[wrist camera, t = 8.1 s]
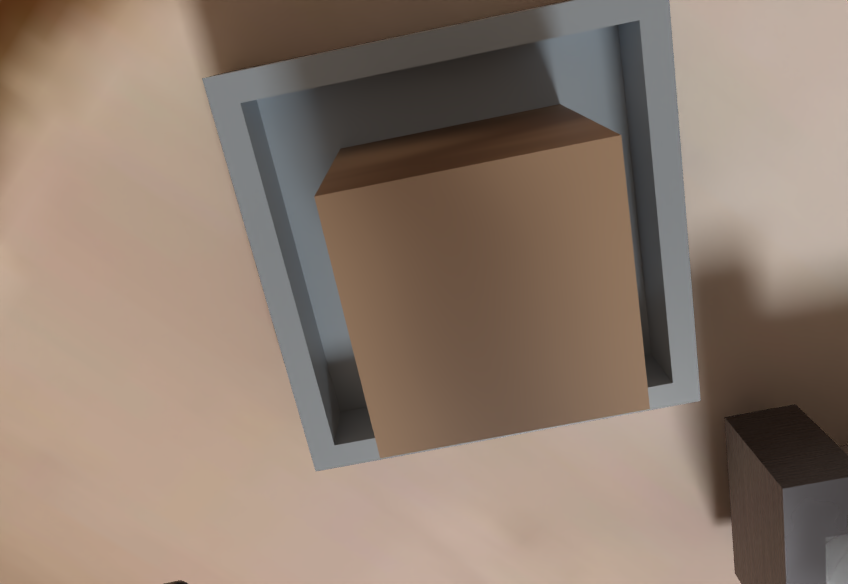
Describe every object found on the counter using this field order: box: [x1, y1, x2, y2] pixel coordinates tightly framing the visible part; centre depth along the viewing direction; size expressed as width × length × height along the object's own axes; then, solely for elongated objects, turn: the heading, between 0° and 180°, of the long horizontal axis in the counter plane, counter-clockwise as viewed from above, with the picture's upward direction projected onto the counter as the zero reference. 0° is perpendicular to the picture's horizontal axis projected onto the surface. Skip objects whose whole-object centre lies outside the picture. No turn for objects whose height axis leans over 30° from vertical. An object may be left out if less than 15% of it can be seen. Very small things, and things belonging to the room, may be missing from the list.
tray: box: [202, 0, 701, 471], centre depth 17 cm, size 9×9×2 cm
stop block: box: [314, 104, 650, 458], centre depth 15 cm, size 5×5×5 cm
